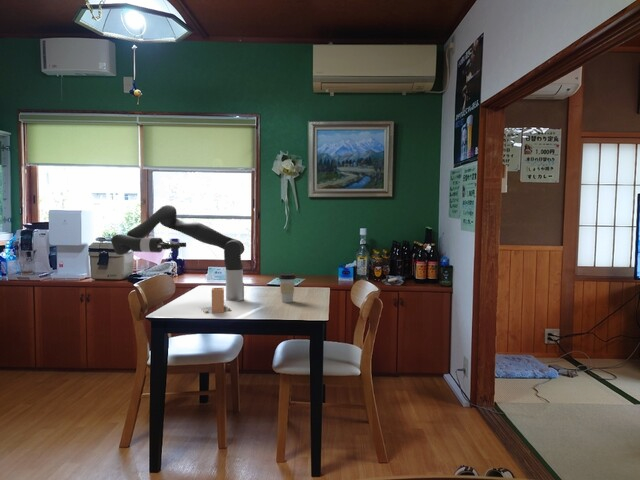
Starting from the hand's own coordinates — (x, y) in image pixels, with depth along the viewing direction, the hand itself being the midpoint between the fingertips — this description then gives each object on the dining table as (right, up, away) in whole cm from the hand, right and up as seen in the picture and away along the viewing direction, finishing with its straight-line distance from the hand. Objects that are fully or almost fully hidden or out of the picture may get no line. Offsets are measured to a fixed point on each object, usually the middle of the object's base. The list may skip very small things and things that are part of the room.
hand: (182, 245), depth 222 cm
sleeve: (+20, -32, -10) cm, 39 cm away
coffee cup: (+51, -31, +19) cm, 63 cm away
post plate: (+18, -32, -6) cm, 38 cm away
